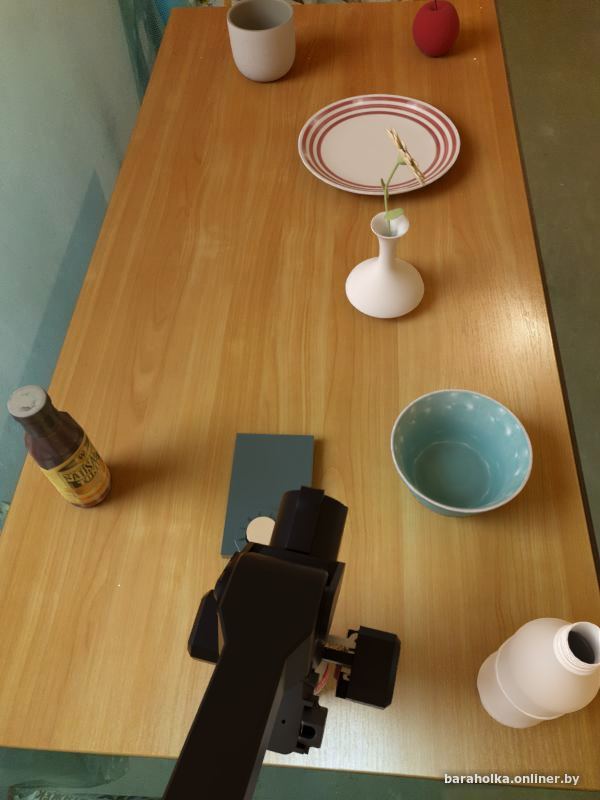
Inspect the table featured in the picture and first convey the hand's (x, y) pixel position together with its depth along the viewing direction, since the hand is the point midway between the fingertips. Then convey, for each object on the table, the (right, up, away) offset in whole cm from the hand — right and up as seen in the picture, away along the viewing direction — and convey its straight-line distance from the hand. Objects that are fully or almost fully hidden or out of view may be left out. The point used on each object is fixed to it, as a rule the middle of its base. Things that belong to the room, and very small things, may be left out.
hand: (299, 661), depth 65 cm
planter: (-7, +92, +61) cm, 111 cm away
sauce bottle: (-26, +16, +16) cm, 35 cm away
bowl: (+19, +17, +14) cm, 29 cm away
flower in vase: (+13, +43, +30) cm, 54 cm away
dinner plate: (+14, +69, +46) cm, 84 cm away
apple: (+27, +96, +62) cm, 118 cm away
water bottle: (+21, -3, +1) cm, 22 cm away
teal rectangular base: (-4, +15, +13) cm, 20 cm away
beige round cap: (-4, +11, +8) cm, 14 cm away
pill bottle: (0, -2, +3) cm, 4 cm away
